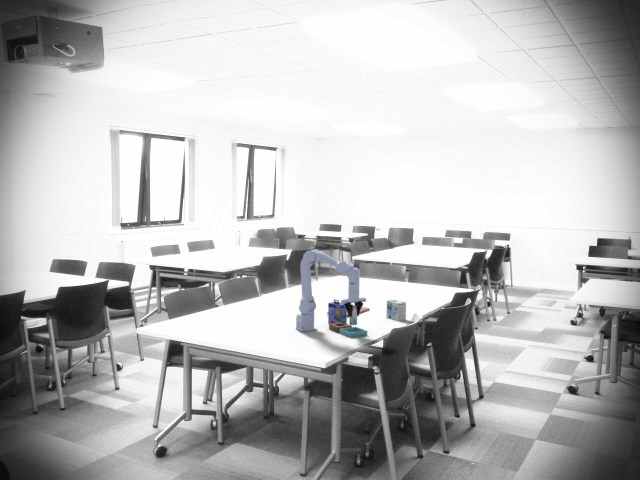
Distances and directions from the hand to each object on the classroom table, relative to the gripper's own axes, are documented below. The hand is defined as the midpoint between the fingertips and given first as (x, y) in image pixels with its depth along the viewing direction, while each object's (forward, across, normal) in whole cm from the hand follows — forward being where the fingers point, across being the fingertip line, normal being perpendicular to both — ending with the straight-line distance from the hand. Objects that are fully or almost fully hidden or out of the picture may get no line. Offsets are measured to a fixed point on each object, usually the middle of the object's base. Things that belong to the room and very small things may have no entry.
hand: (353, 316), depth 298 cm
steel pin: (+4, 0, 0) cm, 4 cm away
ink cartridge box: (+10, +5, +24) cm, 27 cm away
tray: (+10, 0, 0) cm, 10 cm away
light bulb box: (+10, +44, +20) cm, 50 cm away
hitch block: (+10, -1, +12) cm, 15 cm away
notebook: (+11, +29, +51) cm, 60 cm away
